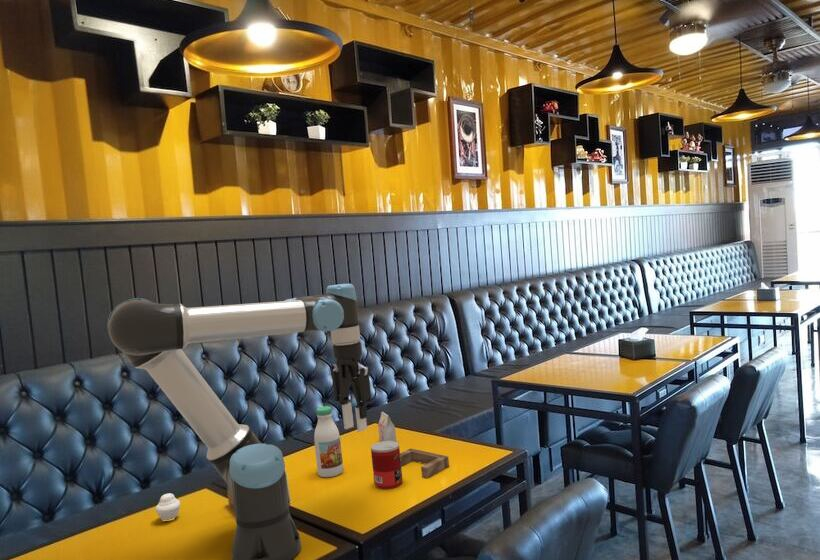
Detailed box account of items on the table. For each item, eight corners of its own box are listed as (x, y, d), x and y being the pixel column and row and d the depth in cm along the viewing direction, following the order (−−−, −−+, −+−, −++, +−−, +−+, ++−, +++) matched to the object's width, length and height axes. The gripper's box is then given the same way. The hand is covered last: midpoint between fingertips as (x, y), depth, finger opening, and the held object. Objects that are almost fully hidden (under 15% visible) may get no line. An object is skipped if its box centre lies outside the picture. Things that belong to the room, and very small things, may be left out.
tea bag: (389, 438, 204) (386, 410, 203) (396, 444, 198) (393, 415, 197) (379, 441, 203) (376, 412, 202) (386, 446, 196) (383, 417, 196)
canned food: (402, 488, 161) (398, 448, 161) (373, 490, 162) (369, 451, 161) (403, 477, 169) (399, 439, 168) (375, 479, 169) (371, 442, 169)
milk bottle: (313, 477, 175) (306, 411, 174) (325, 467, 182) (318, 404, 181) (336, 478, 173) (329, 411, 171) (347, 468, 180) (341, 404, 179)
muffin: (177, 511, 160) (173, 486, 160) (185, 518, 156) (182, 492, 155) (153, 520, 156) (150, 494, 156) (162, 527, 152) (158, 500, 151)
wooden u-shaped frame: (427, 478, 166) (426, 468, 166) (389, 468, 176) (388, 459, 176) (449, 466, 173) (448, 456, 173) (411, 457, 184) (410, 448, 183)
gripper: (380, 341, 152) (389, 429, 154) (335, 338, 164) (344, 420, 165) (358, 346, 147) (368, 438, 148) (314, 343, 159) (323, 428, 160)
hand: (355, 428), depth 157 cm, fingers open, 4 cm apart
